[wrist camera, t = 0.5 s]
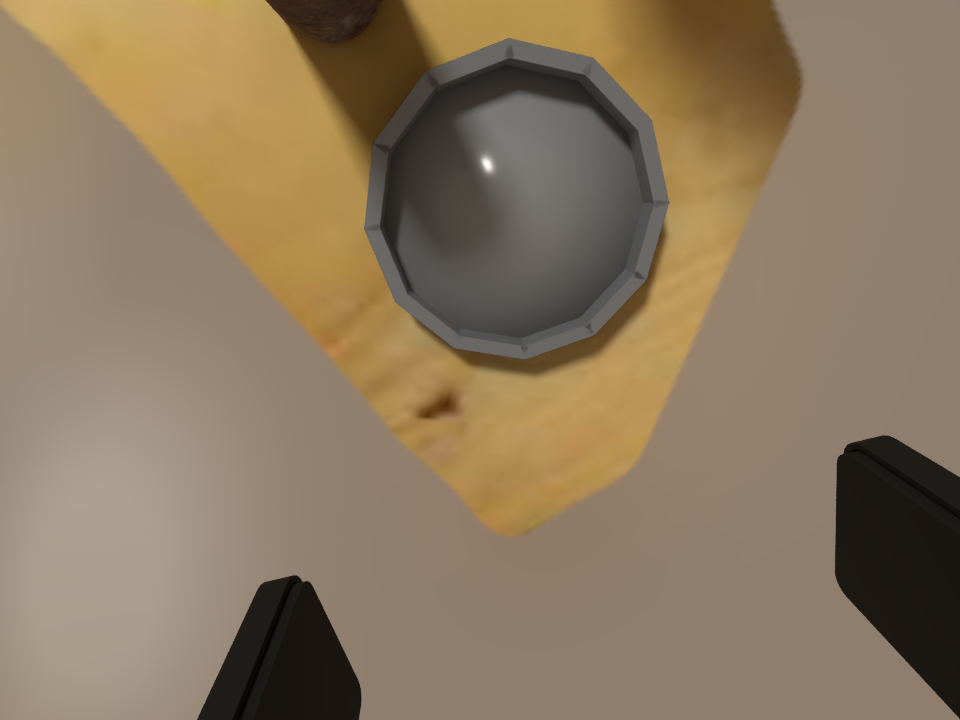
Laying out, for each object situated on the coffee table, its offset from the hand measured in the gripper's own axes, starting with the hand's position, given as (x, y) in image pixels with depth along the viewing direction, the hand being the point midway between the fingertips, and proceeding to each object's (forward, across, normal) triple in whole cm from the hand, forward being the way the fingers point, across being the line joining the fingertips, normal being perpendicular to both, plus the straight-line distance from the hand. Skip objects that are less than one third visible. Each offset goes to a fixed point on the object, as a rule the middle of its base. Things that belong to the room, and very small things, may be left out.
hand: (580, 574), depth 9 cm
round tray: (+31, -3, -3) cm, 31 cm away
